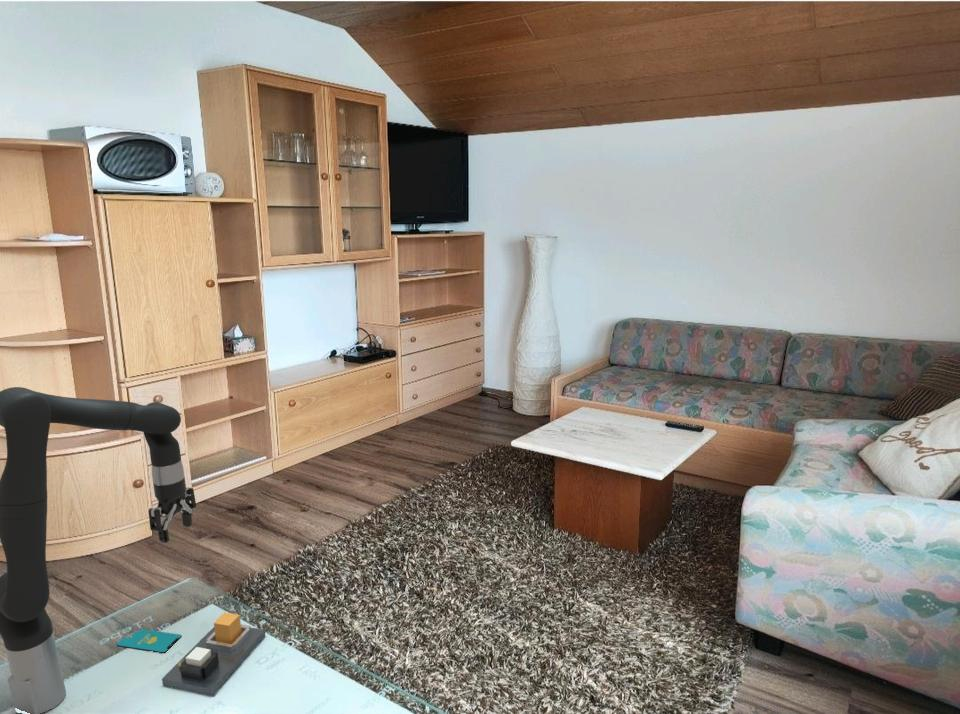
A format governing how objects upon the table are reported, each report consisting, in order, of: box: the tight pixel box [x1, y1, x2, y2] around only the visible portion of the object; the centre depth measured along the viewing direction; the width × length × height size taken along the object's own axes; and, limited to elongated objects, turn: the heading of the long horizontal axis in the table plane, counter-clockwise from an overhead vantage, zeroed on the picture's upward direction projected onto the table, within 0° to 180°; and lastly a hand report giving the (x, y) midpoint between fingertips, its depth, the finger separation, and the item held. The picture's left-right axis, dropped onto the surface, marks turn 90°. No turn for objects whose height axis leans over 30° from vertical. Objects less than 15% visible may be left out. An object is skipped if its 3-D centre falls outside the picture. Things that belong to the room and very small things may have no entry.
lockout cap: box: [213, 611, 242, 644], centre depth 172 cm, size 4×4×6 cm
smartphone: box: [116, 628, 182, 654], centre depth 175 cm, size 7×1×15 cm
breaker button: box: [186, 647, 211, 667], centre depth 161 cm, size 4×4×4 cm
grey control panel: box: [161, 623, 266, 697], centre depth 167 cm, size 22×14×5 cm, turn 165°
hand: (176, 533), depth 177 cm, fingers open, 8 cm apart
